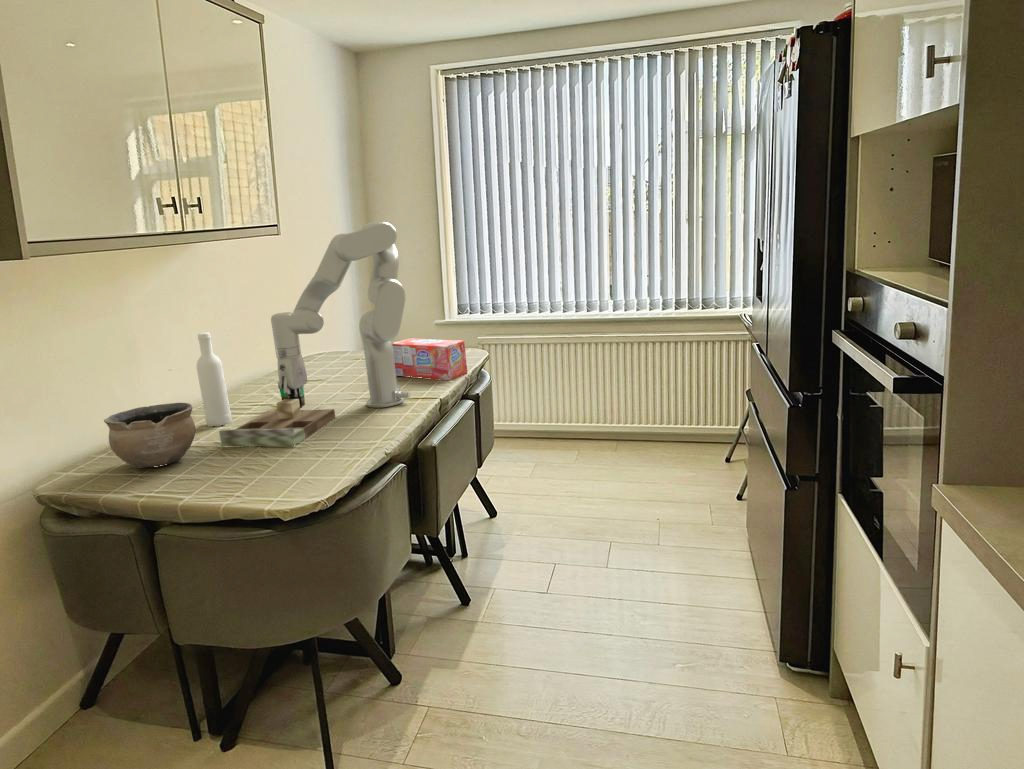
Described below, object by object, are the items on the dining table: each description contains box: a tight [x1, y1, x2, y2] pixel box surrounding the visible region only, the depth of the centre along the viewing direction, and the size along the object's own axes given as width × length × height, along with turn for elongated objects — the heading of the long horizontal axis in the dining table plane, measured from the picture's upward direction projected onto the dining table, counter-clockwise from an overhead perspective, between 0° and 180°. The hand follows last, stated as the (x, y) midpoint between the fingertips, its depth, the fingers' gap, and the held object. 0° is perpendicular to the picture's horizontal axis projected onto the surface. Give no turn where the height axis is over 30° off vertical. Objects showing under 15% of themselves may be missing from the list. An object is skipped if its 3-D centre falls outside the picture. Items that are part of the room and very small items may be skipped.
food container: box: [277, 381, 306, 407], centre depth 261 cm, size 12×6×10 cm, turn 168°
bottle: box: [196, 331, 233, 427], centre depth 243 cm, size 8×8×30 cm
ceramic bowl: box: [103, 402, 196, 468], centre depth 208 cm, size 22×22×15 cm
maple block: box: [275, 399, 302, 419], centre depth 236 cm, size 5×5×5 cm
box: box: [392, 337, 468, 381], centre depth 292 cm, size 27×13×14 cm, turn 58°
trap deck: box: [219, 408, 336, 448], centre depth 230 cm, size 23×28×5 cm
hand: (296, 408), depth 241 cm, fingers closed
